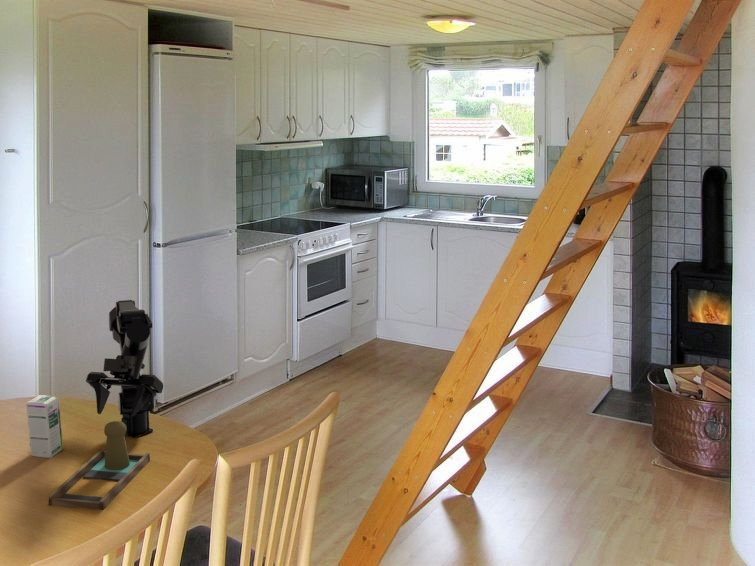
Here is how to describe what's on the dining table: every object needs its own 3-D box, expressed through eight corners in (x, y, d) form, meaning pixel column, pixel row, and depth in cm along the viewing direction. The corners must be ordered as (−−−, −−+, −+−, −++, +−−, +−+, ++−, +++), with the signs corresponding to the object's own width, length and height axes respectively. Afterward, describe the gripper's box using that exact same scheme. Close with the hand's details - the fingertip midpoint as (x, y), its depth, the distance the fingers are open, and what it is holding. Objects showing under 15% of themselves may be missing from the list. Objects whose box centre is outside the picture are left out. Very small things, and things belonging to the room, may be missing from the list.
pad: (104, 458, 225) (103, 457, 225) (143, 462, 224) (143, 460, 224) (90, 471, 218) (90, 469, 218) (131, 474, 217) (131, 473, 217)
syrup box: (51, 458, 225) (47, 403, 222) (29, 456, 226) (25, 401, 223) (63, 449, 231) (59, 395, 227) (42, 447, 232) (38, 393, 228)
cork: (118, 457, 225) (116, 416, 223) (135, 463, 222) (133, 421, 219) (99, 466, 220) (96, 423, 218) (115, 472, 217) (113, 429, 214)
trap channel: (101, 456, 226) (100, 449, 226) (149, 460, 225) (149, 453, 224) (48, 505, 201) (48, 496, 200) (102, 509, 199) (102, 501, 199)
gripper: (84, 341, 223) (65, 400, 216) (151, 344, 219) (134, 404, 211) (105, 360, 233) (88, 417, 226) (170, 363, 228) (155, 421, 221)
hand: (115, 414), depth 221 cm, fingers open, 9 cm apart
